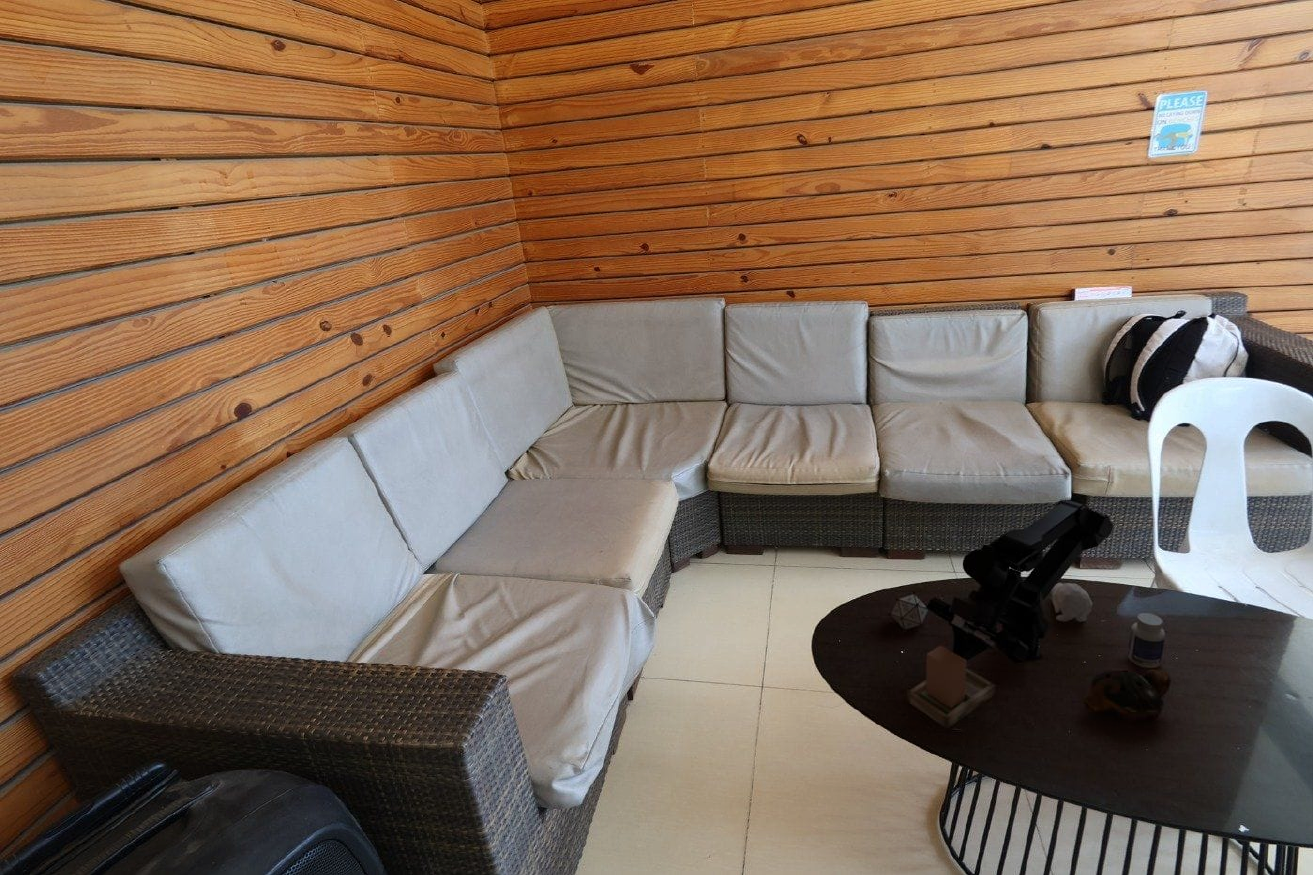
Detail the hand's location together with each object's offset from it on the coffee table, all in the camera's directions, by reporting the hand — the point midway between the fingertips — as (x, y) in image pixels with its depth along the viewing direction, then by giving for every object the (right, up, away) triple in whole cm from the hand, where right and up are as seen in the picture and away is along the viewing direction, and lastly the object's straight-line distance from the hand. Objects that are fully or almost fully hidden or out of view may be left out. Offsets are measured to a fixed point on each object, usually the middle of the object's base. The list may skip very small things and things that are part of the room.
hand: (953, 666), depth 128 cm
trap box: (0, -7, +2) cm, 7 cm away
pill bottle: (+40, -1, +6) cm, 41 cm away
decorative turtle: (+29, -6, -6) cm, 30 cm away
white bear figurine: (+35, +5, +22) cm, 42 cm away
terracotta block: (-1, -6, +1) cm, 6 cm away
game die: (0, +1, +24) cm, 24 cm away
